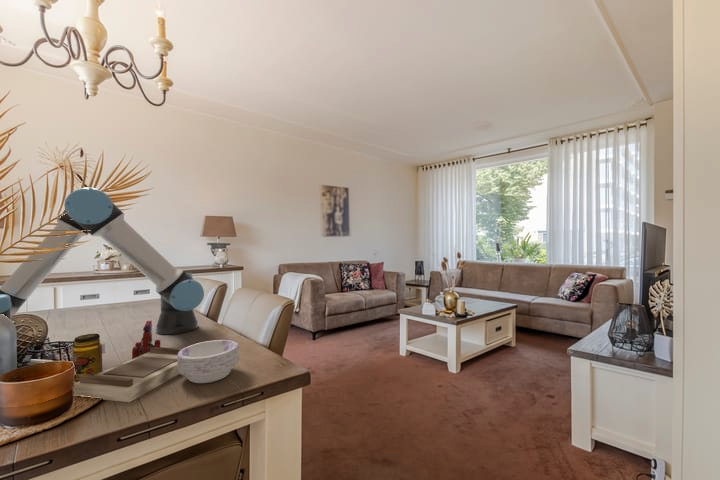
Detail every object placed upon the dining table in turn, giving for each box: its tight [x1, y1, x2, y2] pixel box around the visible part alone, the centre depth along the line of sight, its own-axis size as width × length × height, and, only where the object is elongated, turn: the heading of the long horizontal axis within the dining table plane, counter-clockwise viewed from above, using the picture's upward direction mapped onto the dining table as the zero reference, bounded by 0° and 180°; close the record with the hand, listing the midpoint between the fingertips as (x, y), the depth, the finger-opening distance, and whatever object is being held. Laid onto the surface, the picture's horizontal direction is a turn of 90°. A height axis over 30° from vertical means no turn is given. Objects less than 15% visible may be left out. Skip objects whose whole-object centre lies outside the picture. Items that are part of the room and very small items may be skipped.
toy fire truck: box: [131, 320, 161, 359], centre depth 108 cm, size 7×12×10 cm, turn 26°
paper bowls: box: [177, 339, 240, 384], centre depth 91 cm, size 15×15×8 cm
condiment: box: [72, 333, 106, 382], centre depth 90 cm, size 7×8×12 cm
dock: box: [74, 346, 183, 403], centre depth 91 cm, size 24×16×4 cm, turn 169°
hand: (80, 356), depth 90 cm, fingers open, 13 cm apart
